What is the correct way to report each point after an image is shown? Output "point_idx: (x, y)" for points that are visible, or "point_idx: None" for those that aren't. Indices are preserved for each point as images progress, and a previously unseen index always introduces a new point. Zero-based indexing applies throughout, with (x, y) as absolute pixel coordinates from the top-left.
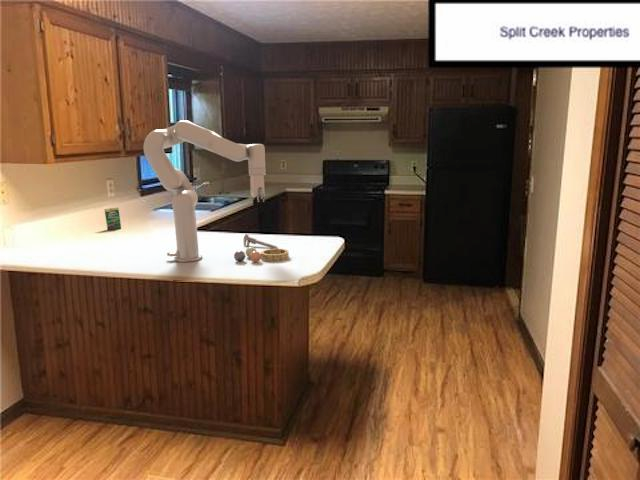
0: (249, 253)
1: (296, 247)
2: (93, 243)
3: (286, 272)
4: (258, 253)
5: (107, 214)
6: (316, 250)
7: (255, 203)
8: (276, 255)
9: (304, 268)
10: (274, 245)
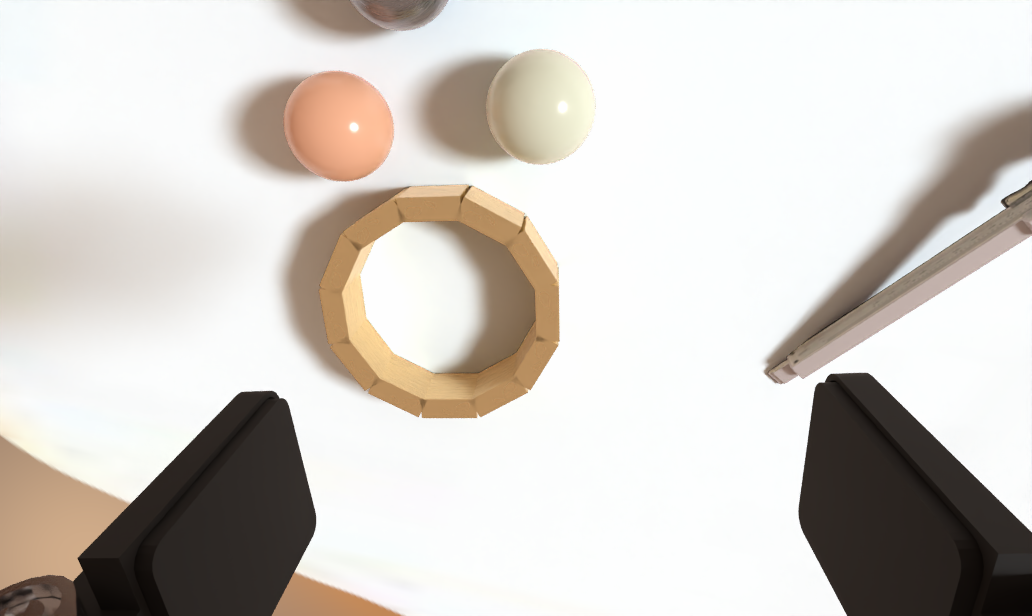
0: (490, 86)
1: (742, 504)
2: None
3: (25, 297)
4: (302, 160)
5: None
6: (583, 589)
7: (872, 505)
8: (325, 308)
9: (120, 419)
10: (821, 366)
